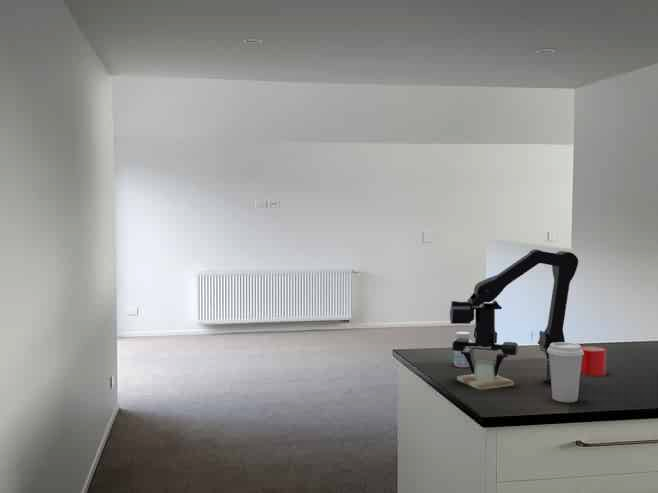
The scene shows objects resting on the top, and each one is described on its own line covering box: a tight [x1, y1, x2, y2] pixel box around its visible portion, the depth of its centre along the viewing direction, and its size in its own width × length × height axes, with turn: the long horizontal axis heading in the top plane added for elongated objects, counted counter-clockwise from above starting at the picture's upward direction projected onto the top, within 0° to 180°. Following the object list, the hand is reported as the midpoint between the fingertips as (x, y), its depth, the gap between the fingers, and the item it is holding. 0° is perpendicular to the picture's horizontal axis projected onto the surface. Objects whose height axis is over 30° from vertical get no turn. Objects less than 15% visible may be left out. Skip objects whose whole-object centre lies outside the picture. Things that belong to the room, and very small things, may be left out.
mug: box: [580, 345, 607, 377], centre depth 208 cm, size 8×12×8 cm, turn 49°
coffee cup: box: [547, 341, 584, 403], centre depth 178 cm, size 10×10×15 cm
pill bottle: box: [453, 331, 473, 368], centre depth 217 cm, size 6×6×11 cm
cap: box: [474, 359, 496, 381], centre depth 196 cm, size 6×6×5 cm
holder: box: [456, 373, 515, 391], centre depth 196 cm, size 12×12×3 cm
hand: (484, 374), depth 196 cm, fingers closed on cap, 6 cm apart
